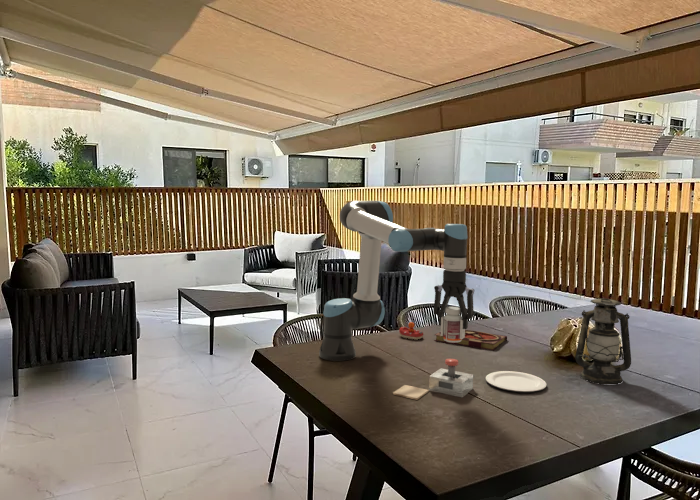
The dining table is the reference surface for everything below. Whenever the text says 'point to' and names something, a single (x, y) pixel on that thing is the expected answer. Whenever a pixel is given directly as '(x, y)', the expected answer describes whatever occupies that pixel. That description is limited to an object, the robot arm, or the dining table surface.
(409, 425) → the dining table surface
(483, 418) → the dining table surface
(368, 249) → the robot arm
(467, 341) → the book
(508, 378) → the plate
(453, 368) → the lever
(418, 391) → the cork pad
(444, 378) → the grey boxy piece
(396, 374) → the dining table surface
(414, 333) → the toy boat
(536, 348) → the dining table surface
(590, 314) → the lantern
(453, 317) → the pill bottle
